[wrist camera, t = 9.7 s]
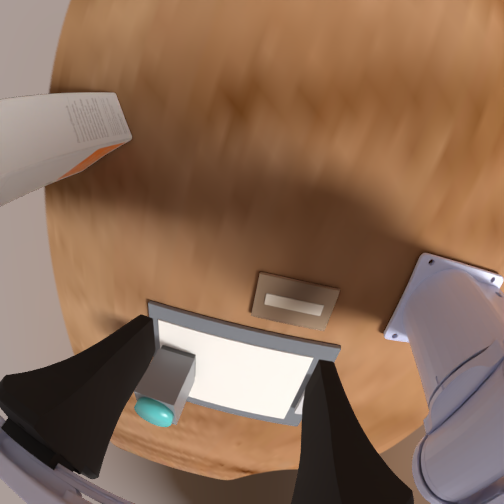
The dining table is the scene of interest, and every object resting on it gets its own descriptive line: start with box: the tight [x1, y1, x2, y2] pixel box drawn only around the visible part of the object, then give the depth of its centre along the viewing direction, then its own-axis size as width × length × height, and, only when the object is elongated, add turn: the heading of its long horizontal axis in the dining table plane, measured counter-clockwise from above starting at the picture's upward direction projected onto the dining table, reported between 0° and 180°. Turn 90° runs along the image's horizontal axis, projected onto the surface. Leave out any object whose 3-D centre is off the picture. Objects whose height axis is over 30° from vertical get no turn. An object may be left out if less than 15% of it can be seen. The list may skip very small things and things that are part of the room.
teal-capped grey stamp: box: [134, 345, 196, 427], centre depth 23 cm, size 4×4×7 cm
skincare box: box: [0, 92, 132, 207], centre depth 13 cm, size 6×4×12 cm
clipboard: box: [148, 301, 341, 426], centre depth 26 cm, size 17×14×1 cm
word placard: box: [251, 272, 340, 331], centre depth 21 cm, size 6×4×1 cm, turn 81°
